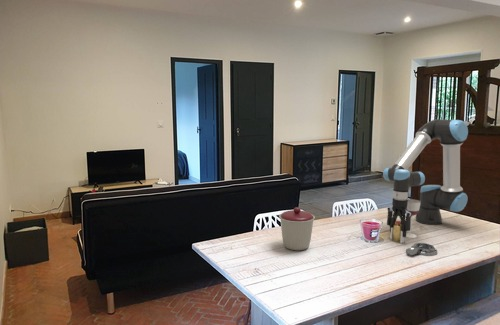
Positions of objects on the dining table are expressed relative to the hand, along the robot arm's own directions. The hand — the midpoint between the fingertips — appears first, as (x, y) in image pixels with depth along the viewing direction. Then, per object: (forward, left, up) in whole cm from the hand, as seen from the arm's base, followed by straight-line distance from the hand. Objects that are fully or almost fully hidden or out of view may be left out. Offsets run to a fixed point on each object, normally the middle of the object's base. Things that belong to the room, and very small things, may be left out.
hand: (397, 240), depth 198 cm
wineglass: (-13, -2, -1) cm, 13 cm away
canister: (+52, -22, -1) cm, 56 cm away
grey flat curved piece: (+4, +16, 0) cm, 16 cm away
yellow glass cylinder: (0, 0, 0) cm, 0 cm away
